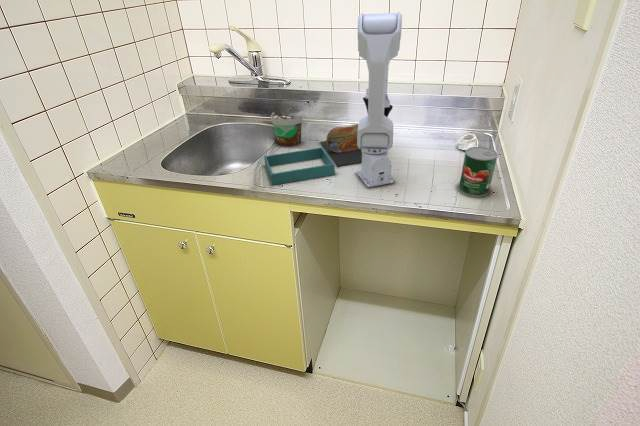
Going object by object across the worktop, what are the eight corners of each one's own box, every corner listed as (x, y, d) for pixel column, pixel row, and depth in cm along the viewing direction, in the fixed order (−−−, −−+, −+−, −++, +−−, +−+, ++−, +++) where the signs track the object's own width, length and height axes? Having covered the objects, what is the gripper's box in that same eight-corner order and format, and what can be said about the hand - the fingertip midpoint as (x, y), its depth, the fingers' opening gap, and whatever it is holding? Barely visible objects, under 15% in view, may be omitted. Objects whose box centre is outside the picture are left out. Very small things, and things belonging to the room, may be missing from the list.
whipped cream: (478, 156, 123) (482, 142, 120) (457, 153, 124) (461, 139, 121) (477, 144, 129) (481, 131, 126) (456, 141, 130) (460, 128, 127)
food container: (266, 144, 136) (262, 117, 131) (275, 137, 141) (272, 111, 135) (295, 149, 131) (293, 121, 126) (304, 143, 136) (302, 115, 130)
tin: (328, 154, 126) (327, 130, 121) (325, 151, 128) (324, 127, 124) (370, 148, 129) (371, 124, 124) (367, 144, 131) (368, 121, 127)
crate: (334, 174, 115) (334, 164, 113) (272, 185, 111) (270, 174, 109) (322, 156, 125) (322, 147, 124) (265, 166, 122) (264, 156, 120)
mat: (384, 159, 122) (384, 158, 122) (337, 166, 119) (337, 165, 119) (362, 136, 138) (362, 135, 138) (320, 143, 135) (320, 141, 135)
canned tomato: (460, 196, 102) (467, 158, 96) (456, 181, 108) (463, 146, 102) (491, 197, 100) (500, 160, 94) (486, 183, 107) (494, 147, 101)
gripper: (357, 76, 121) (357, 117, 128) (375, 87, 109) (373, 132, 117) (378, 73, 122) (376, 114, 130) (397, 84, 111) (394, 129, 118)
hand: (376, 122), depth 123 cm, fingers open, 7 cm apart
